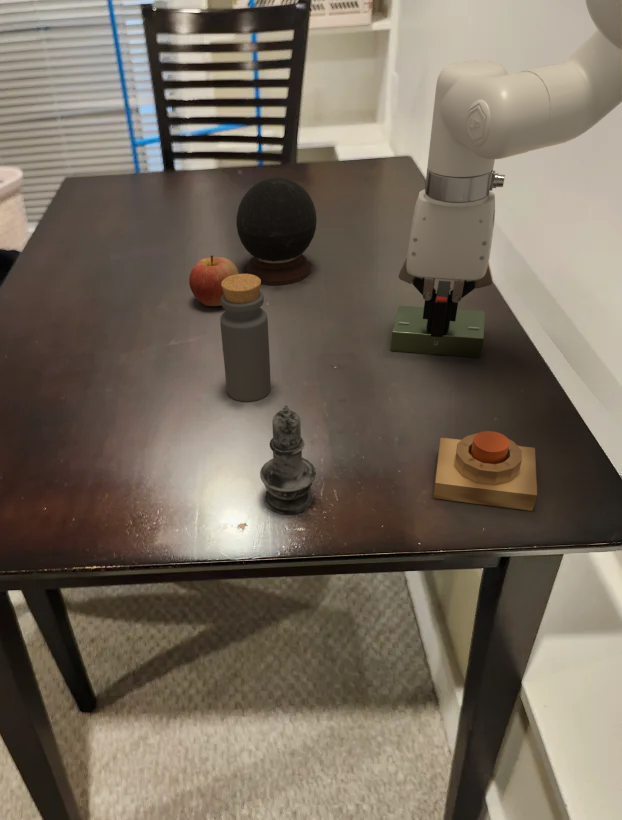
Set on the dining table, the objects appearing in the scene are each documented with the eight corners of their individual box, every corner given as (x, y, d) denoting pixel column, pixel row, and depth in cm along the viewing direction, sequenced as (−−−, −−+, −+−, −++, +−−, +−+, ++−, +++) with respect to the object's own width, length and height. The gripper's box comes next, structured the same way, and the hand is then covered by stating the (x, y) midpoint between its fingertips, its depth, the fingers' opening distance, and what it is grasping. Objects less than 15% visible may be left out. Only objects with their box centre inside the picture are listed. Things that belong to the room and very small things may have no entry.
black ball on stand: (326, 280, 114) (327, 186, 104) (249, 292, 113) (243, 198, 103) (304, 251, 124) (303, 162, 114) (233, 262, 122) (226, 172, 113)
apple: (235, 315, 107) (231, 265, 102) (186, 313, 109) (180, 264, 103) (246, 292, 113) (242, 244, 108) (199, 290, 115) (193, 243, 109)
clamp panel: (481, 330, 99) (485, 309, 97) (479, 369, 91) (483, 347, 89) (396, 324, 102) (398, 304, 100) (387, 361, 94) (389, 340, 92)
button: (506, 446, 73) (509, 432, 72) (506, 467, 71) (509, 453, 69) (471, 442, 74) (473, 429, 73) (470, 462, 71) (472, 449, 70)
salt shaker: (316, 480, 76) (317, 388, 68) (315, 517, 72) (315, 423, 64) (263, 480, 77) (258, 388, 69) (259, 515, 73) (252, 423, 65)
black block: (434, 314, 97) (439, 278, 93) (446, 315, 97) (451, 279, 93) (430, 336, 92) (434, 300, 89) (442, 337, 92) (447, 301, 88)
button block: (530, 463, 76) (538, 434, 74) (532, 511, 71) (541, 481, 68) (438, 452, 79) (442, 424, 76) (432, 498, 73) (437, 469, 70)
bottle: (228, 404, 89) (217, 294, 79) (225, 380, 93) (215, 273, 83) (273, 399, 89) (268, 289, 79) (268, 375, 93) (263, 269, 83)
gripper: (527, 175, 83) (498, 316, 95) (395, 172, 87) (384, 307, 99) (527, 197, 78) (497, 343, 90) (387, 192, 82) (376, 332, 94)
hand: (438, 323), depth 94 cm, fingers closed on black block
